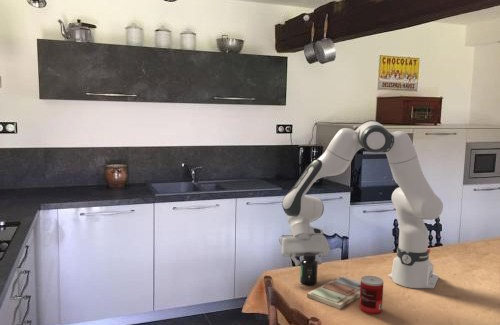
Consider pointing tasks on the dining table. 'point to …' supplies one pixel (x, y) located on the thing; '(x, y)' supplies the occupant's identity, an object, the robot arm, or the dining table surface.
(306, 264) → the supplement bottle
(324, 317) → the dining table surface
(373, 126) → the robot arm
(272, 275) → the dining table surface
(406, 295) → the dining table surface
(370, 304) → the canned food
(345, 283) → the tile board
